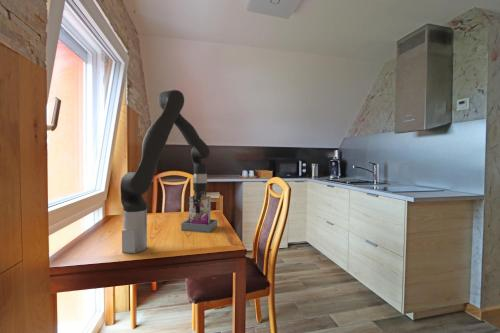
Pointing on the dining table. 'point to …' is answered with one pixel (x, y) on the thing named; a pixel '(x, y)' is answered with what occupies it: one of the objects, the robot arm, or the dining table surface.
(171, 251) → the dining table surface
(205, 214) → the candy bar box
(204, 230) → the tray
